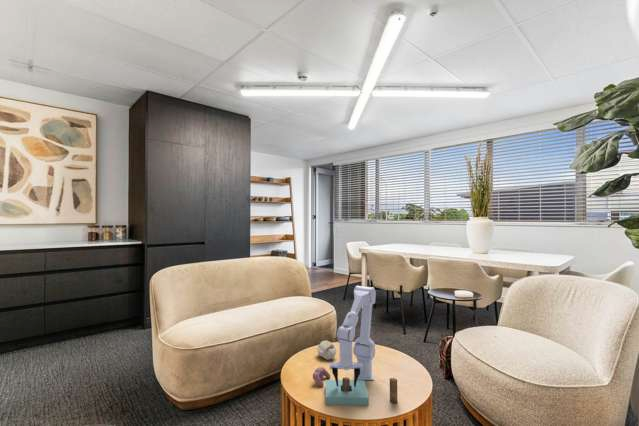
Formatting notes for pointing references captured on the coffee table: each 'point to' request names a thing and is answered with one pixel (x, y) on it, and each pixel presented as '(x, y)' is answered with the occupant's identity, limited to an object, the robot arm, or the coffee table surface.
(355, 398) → the block
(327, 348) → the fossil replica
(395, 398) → the tall pin
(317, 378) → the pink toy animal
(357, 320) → the robot arm
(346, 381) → the short pin
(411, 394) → the coffee table surface
